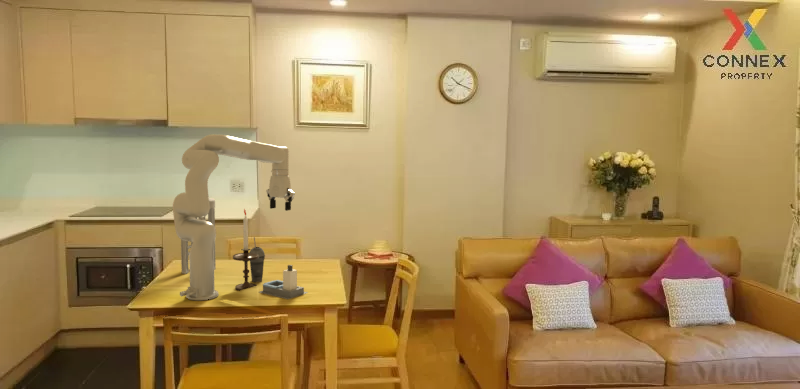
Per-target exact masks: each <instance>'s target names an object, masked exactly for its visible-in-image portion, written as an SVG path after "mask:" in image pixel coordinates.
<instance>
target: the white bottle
mask: <svg viewBox="0 0 800 389" xmlns="http://www.w3.org/2000/svg"><path fill="white" fill-rule="evenodd" d="M282 281H283V289H285V290H289V291H291V290H294V289H297V286H298V270H297V269H293V264H288V265H287V269H284V270H282Z"/></svg>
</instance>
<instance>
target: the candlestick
mask: <svg viewBox="0 0 800 389" xmlns="http://www.w3.org/2000/svg"><path fill="white" fill-rule="evenodd" d="M243 213H244V217H243V222H242V223H243V226H242V227H243V228H242V230H243V248H242V249H241V251H242V252H241V253H235V254H233V255H232V259H233V260H235V261H238V262H239V261H240V262H244V264H243V266H244V269H243V270H242V273H243V279H244V282H243V283H239V284H236V285H235V288H234V289H235V290H236V291H244V290H246V289H250V288H253V287H257V286H258V285H257V284H256V283H254V282H252V283H251V282H249V278H250V276H249V273H250V270H249V269H248V268H249V266H248V265H249V264H248V262H250V260H255V259H258V258H259V254H256V253H249V251H250V250H251V249H252V248H249V218H248V217H247V212H246V209H245V208H244V209H243Z"/></svg>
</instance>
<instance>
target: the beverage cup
mask: <svg viewBox="0 0 800 389" xmlns="http://www.w3.org/2000/svg"><path fill="white" fill-rule="evenodd" d="M253 242H254V243H253V244H254V247H253V248H250V249H251V250H249V251H248V253H256V254H259V258H258V259H255V260H250V261H249V265H250V276H251V282H252V283H259V282H262V281H263V275H264V263H265V257H266V255H265V250H264V249H263V248H262V247H260V246H257V245H256V237H255V236H254V237H253Z"/></svg>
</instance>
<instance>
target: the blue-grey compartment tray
mask: <svg viewBox="0 0 800 389" xmlns="http://www.w3.org/2000/svg"><path fill="white" fill-rule="evenodd" d="M259 293H260V294H265V295H268V296H273V297H275V298H276V297H277V298H281V299H284V300H290V299H293V298H297V297H300V296H303V295H306V294H308V293H309V292H308V291H305V288H304V286H299V285H297V289H294V290H291V291H289V290H285V289H283V280H280V279H275V280H274V279H273V280H270V281H267V282H264V283H263V284H262V290H261V291H259Z"/></svg>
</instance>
